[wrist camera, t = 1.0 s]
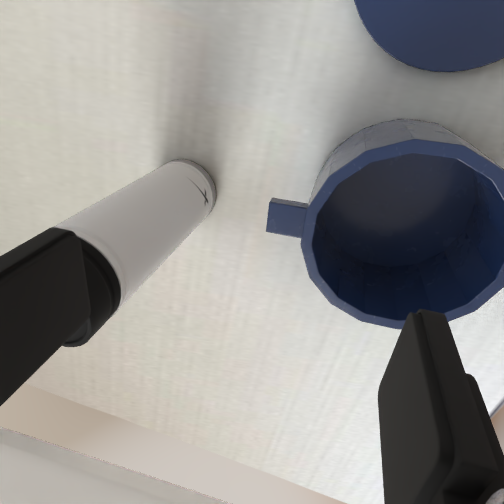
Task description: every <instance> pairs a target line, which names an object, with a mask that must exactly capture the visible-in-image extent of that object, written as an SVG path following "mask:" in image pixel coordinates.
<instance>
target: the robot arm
mask: <svg viewBox="0 0 504 504" xmlns="http://www.w3.org/2000/svg"><path fill="white" fill-rule="evenodd" d="M90 312H91V307H90V300H89V294H88V287H87V280H86V273H85V267H84V260H83V253H82V247H81V241H80V239H79V238H78V237H77V236H76V234H75V232H73V231H70V230H66V229H61V228H57V227H52V228H49V229H48V230H46V231H44V232H42V233H41V234H39V235H37V236H35V237H34V238H32V239H30V240H28V241H26V242H25V243H23V244H21V245H19V246H18V247H16V248H14V249H12V250H11V251H9V252H7V253H5V254H4V255H2V256H0V406H1V405H2V404H3V403H4V402H5V401H6V400H7V399H8V398H9V397H10V396H11V395H12V394H13V393H14V392H15V391H16V390H17V389H18V388H19V387H20V386H21V385H22V384H23V383H24V382H25V381H26V380H27V379H29V378H30V377H31V376H32V375H33V374H34V373H35V372H36V371H37V370H38V369H39V368H40V367H41V366H42V365H43V364H44V363H45V362H46V361H47V360H48V359H49V358H50V357H51V356H52V355H53V354H54V353H55V352H56V351H57V350H58V349H59V348H60V347H61V346H62V345H63V344H64V343H65V342H66V341H67V340H68V339H69V338H70V337H71V336H72V335H73V334H74V333H75V332H76V331H77V330H78V329H79V328H80V327H81V326H82V325H83V324H84V323H85V322H86V321H87V320H88V318H89V316H90ZM378 407H379V423H380V439H381V454H382V470H383V485H384V501H385V504H504V455H503V452H502V449H501V447H500V444H499V441H498V438H497V436H496V433H495V431H494V428H493V425H492V422H491V419H490V417H489V414H488V411H487V409H486V406H485V403H484V400H483V398H482V395H481V392H480V390H479V387H478V384H477V382H476V380H475V378H474V377H473V376H472V375H470V374H466V373H465V370H464V368H463V365H462V362H461V359H460V356H459V353H458V350H457V347H456V344H455V341H454V338H453V335H452V333H451V330H450V327H449V324H448V321H447V318H446V316H445V314H443V313H438V312H434V311H429V310H425V309H419V310H418V311H417V313H412V312H410V313H409V314H408V316H407V318H406V321H405V323H404V326H403V328H402V331H401V333H400V336H399V338H398V341H397V343H396V346H395V348H394V351H393V353H392V356H391V358H390V361H389V363H388V366H387V368H386V371H385V373H384V376H383V378H382V381H381V383H380V386H379V391H378ZM0 504H231V503H228V502H225V501H222V500H219V499H216V498H213V497H210V496H207V495H204V494H201V493H198V492H195V491H192V490H190V489H187V488H184V487H181V486H177V485H175V484H172V483H169V482H166V481H163V480H160V479H157V478H154V477H151V476H148V475H145V474H142V473H139V472H136V471H133V470H130V469H127V468H124V467H121V466H118V465H115V464H112V463H109V462H106V461H103V460H100V459H97V458H94V457H91V456H88V455H85V454H82V453H79V452H76V451H73V450H70V449H67V448H64V447H61V446H58V445H55V444H52V443H49V442H46V441H43V440H40V439H37V438H34V437H30V436H28V435H25V434H21V433H18V432H16V431H12V430H9V429H6V428H3V427H0Z"/></svg>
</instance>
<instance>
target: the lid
mask: <svg viewBox="0 0 504 504" xmlns="http://www.w3.org/2000/svg"><path fill="white" fill-rule="evenodd" d="M354 2H355V5H356V8H357V11H358V14H359V16H360V18H361V20H362V22H363V24H364V26H365V28H366V30H367V31H368V33H369V34H370V35H371V37H372V38H373V39H374V41H375V42H376V43H377V44H378V45H379V46H380V47H381V48H382V49H383V50H384V51H385V52H387V53H388V54H390V55H391V56H392V57H394V58H395V59H397V60H399V61H401V62H403V63H405V64H407V65H410V66H413V67H416V68H419V69H423V70H429V71H435V72H455V71H464V70H469V69H474V68H478V67H482V66H485V65H487V64H490V63H493V62H496V61H498V60H500V59H503V58H504V0H354Z"/></svg>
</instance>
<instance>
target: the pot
mask: <svg viewBox="0 0 504 504" xmlns="http://www.w3.org/2000/svg"><path fill="white" fill-rule="evenodd" d="M266 232H270V233H275V234H281V235H286V236H292V237H297V238H301V248H302V252H303V256H304V259H305V263H306V267H307V270H308V274H309V276H310V279H311V280H312V281H313V282H314V284H315V285H316V286H317V287H318V289H319V290H320V291H321V292H322V294H323V295H324V296H325V297H326V299H327V300H328V301H329V302H330V303H331V304H332V305H334V306H336V307H338V308H339V309H341V310H343V311H344V312H346V313H348V314H349V315H351V316H353V317H354V318H356V319H358V320H360V321H362V322H367V323H371V324H376V325H380V326H385V327H390V328H394V329H402V328H403V326H404V323H405V321H406V318H407V316H408V314H409V313H410V312H412V313H417V311H418V310H419V309H425V310H429V311H434V312H438V313H443V314H445V316H446V318H447V321H448V322H449V321H451V320H454V319H456V318H459V317H462V316H464V315H467V314H469V313H472V312H474V311H475V310H477V309H478V308H480V307H481V306H482V305H483V304H484V303H485V302H487V301H488V300H489V299H490V298H491V297H493V296H494V295H495V294H496V293H497V292H498V291H500V290H501V289H502V288H503V287H504V169H503V168H501V167H500V166H499V165H497V164H496V163H495V162H493V161H492V160H491V159H489V158H488V157H487V156H485V155H484V154H483V153H482V152H480V151H479V150H478V149H476V148H475V147H474V146H472V145H471V144H470V143H468V142H467V141H465V140H464V139H462V138H461V137H459V136H457V135H456V134H454V133H453V132H451V131H449V130H447V129H446V128H444V127H443V126H441V125H439V124H437V123H430V122H425V121H420V120H407V119H398V120H392V121H388V122H383V123H379V124H376V125H373V126H370V127H367V128H364V129H362V130H361V131H359V132H358V133H356V134H355V135H353V136H351V137H350V138H348V139H347V140H346V141H345V142H343V143H342V144H341V145H340V146H339V147H337V148H336V149H335V150H334V151H333V153H332V154H331V156H330V157H329V159H328V160H327V161H326V163H325V165H324V166H323V168H322V170H321V171H320V173H319V174H318V176H317V179H316V182H315V185H314V188H313V191H312V194H311V197H310V200H309V203H308V204H307V203H301V202H295V201H289V200H283V199H277V198H272V199H271V201H270V202H269V210H268V218H267V227H266Z"/></svg>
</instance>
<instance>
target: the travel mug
mask: <svg viewBox="0 0 504 504" xmlns="http://www.w3.org/2000/svg"><path fill="white" fill-rule="evenodd" d="M215 201H216V191H215V186H214V183H213V181H212V179H211V177H210V176H209V174H208V173H207V172H206V171H205V170H204V169H203V168H202V167H201V166H199V165H198V164H196V163H194V162H192V161H189V160H184V159H177V160H173V161H170V162H168V163H166V164H164V165H163V166H161V167H159V168H157V169H156V170H154V171H152V172H150V173H148V174H147V175H145V176H143V177H141V178H139V179H138V180H136V181H134V182H132V183H131V184H129V185H127V186H125V187H123V188H122V189H120V190H118V191H116V192H115V193H113V194H111V195H109V196H107V197H106V198H104V199H102V200H100V201H98V202H97V203H95V204H93V205H91V206H90V207H88V208H86V209H84V210H82V211H81V212H79V213H77V214H75V215H73V216H72V217H70V218H68V219H66V220H65V221H63V222H61V223H59V224H57V225H56V226H54V227H57V228H61V229H66V230H70V231H73V232H75V234H76V236H77V237H78V238H79V239H80V241H81V247H82V253H83V260H84V267H85V273H86V280H87V287H88V294H89V300H90V307H91V312H90V316H89V318H88V320H87V321H86V322H85V323H84V324H83V325H82V326H81V327H80V328H79V329H78V330H77V331H76V332H75V333H74V334H73V335H72V336H71V337H70V338H69V339H68V340H67V341H66V342H65V343H64V344H63V345H62V346H65V347H77V346H81V345H83V344H85V343H87V342H88V340H89V339H90V338H91V337H92V336H93V335H94V334H95V333H96V332H97V331H98V330H99V329H100V328H101V327H102V326H103V325H104V323H105V322H106V321H107V320H108V319H109V318H110V317H112V316H113V315H114V314H115V313H116V312H117V311H118V310H119V309H120V308H121V307H122V306H123V305H124V304H125V303H126V302H127V300H128V299H129V298H130V297H131V296H132V295H133V294H134V293H135V292H136V291H137V290H138V289H139V288H140V287H141V286H142V285H143V283H144V282H145V281H146V280H147V279H148V278H149V277H150V276H151V275H152V274H153V273H154V272H155V271H156V270H157V269H158V267H159V266H160V265H161V264H162V263H163V262H164V261H165V260H166V259H167V258H168V257H169V256H170V255H171V254H172V253H173V252H174V250H175V249H176V248H177V247H178V246H179V245H180V244H181V243H182V242H183V241H184V240H185V239H186V238H187V237H188V236H189V234H190V233H191V232H192V231H193V230H194V229H195V228H196V227H197V226H198V225H199V224H200V223H201V222H202V221H203V220H204V219H205V217H206V216H207V215H208V214H209V213H210V212H211V211H212V209H213V207H214V204H215Z"/></svg>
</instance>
